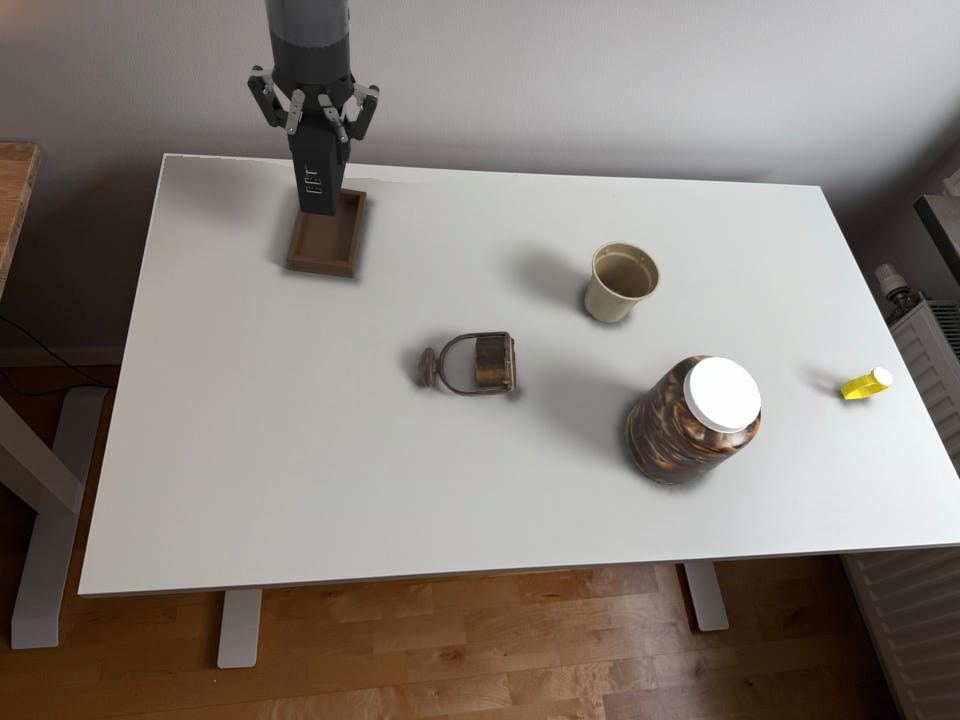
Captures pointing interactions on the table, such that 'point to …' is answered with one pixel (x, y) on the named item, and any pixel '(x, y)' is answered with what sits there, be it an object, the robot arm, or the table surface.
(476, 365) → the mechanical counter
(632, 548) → the table surface
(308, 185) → the electronic device
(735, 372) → the jar
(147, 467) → the table surface
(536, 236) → the table surface
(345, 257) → the tray
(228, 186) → the table surface
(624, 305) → the flower pot
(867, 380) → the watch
